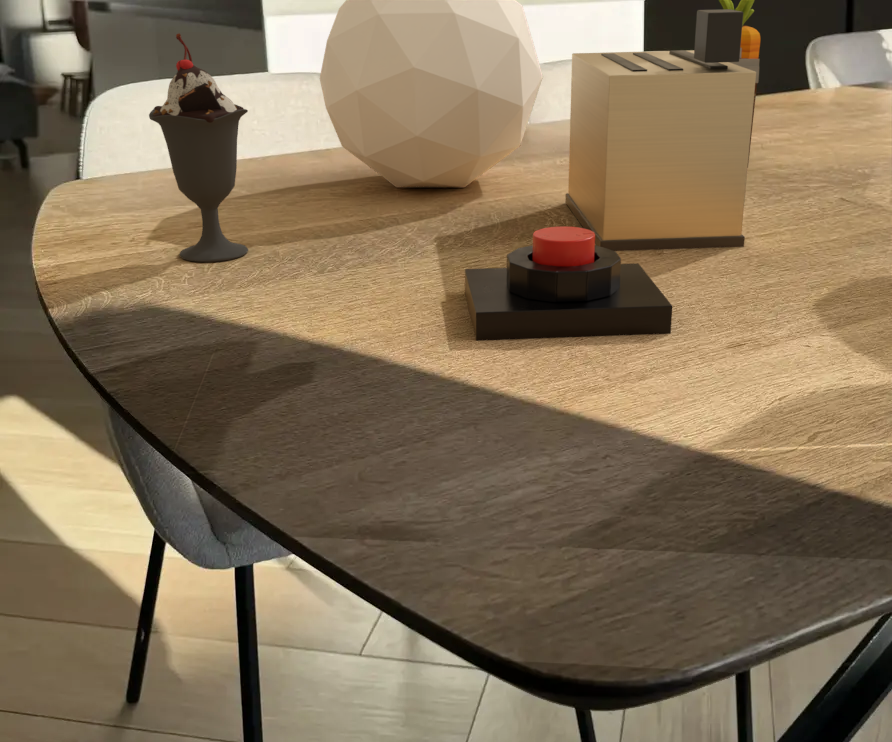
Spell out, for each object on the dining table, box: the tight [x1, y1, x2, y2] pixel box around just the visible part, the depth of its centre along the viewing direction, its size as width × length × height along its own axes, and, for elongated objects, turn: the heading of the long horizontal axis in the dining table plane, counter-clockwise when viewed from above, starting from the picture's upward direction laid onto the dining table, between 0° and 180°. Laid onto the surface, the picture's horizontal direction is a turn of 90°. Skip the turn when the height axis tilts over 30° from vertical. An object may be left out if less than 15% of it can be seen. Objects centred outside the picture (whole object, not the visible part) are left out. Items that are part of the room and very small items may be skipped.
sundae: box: [148, 32, 249, 263], centre depth 78 cm, size 7×7×15 cm
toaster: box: [564, 49, 756, 252], centre depth 85 cm, size 10×16×12 cm, turn 3°
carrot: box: [718, 0, 761, 59], centre depth 121 cm, size 5×5×15 cm
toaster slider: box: [694, 9, 743, 63], centre depth 77 cm, size 2×3×3 cm
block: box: [464, 244, 673, 342], centre depth 66 cm, size 11×9×4 cm
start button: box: [532, 226, 595, 266], centre depth 65 cm, size 4×4×2 cm
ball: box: [319, 0, 544, 189], centre depth 99 cm, size 19×20×20 cm
